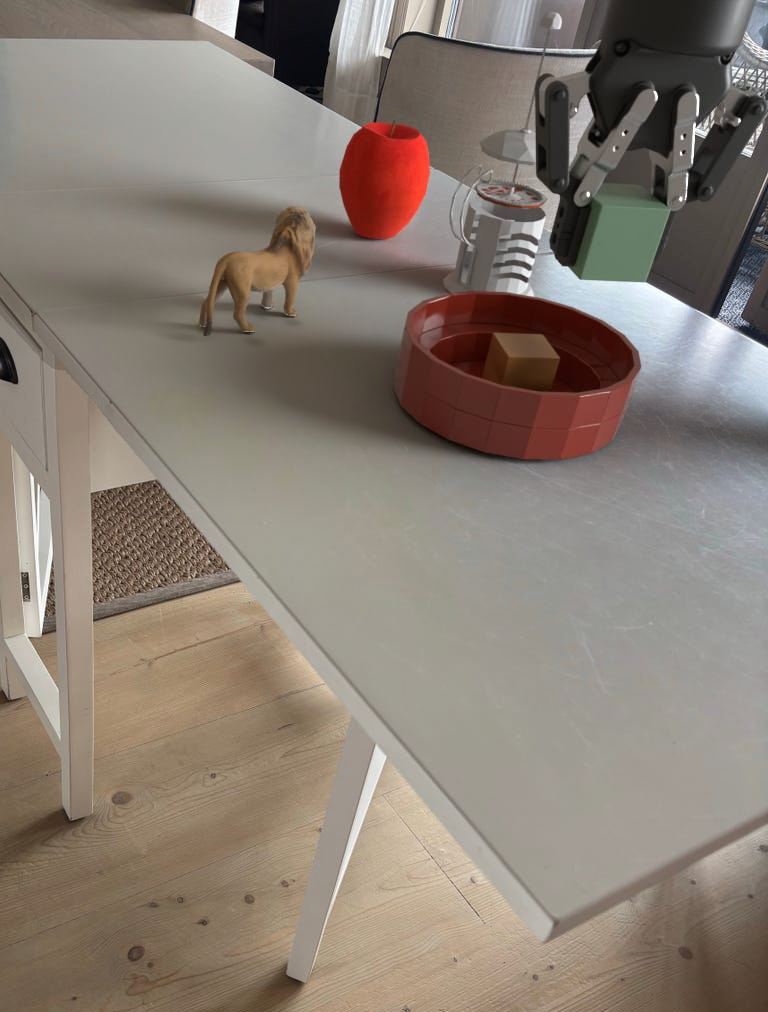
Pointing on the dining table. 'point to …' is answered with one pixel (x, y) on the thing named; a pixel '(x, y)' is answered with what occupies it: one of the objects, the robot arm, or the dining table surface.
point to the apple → (384, 178)
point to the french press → (502, 214)
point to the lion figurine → (264, 269)
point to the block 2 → (621, 234)
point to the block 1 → (521, 361)
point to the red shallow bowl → (508, 410)
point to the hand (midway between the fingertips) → (601, 262)
